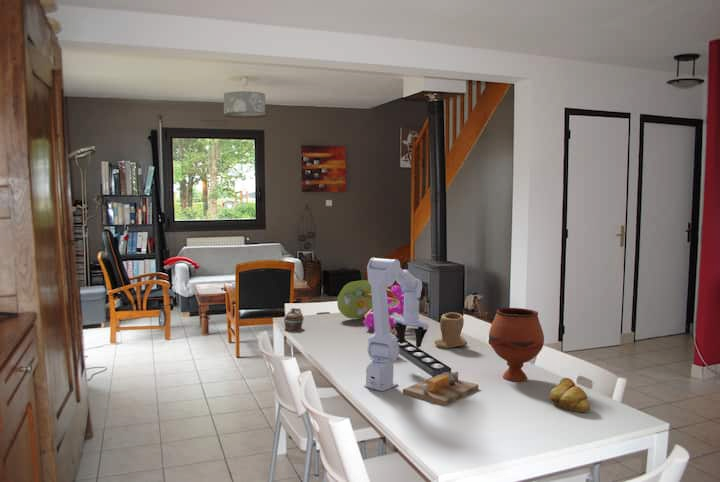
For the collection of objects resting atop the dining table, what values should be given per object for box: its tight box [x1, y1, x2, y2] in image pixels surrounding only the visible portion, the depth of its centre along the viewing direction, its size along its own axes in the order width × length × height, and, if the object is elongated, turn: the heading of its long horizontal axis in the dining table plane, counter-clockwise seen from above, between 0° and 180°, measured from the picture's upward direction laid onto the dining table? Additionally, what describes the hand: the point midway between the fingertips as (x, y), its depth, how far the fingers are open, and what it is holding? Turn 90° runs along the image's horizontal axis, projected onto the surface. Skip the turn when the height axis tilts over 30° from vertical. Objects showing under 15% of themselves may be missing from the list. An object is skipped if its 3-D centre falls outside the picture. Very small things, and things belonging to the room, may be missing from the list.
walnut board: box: [402, 370, 479, 407], centre depth 188 cm, size 22×16×4 cm
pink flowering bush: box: [336, 279, 404, 331], centre depth 288 cm, size 30×28×35 cm
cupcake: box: [283, 307, 305, 332], centre depth 275 cm, size 10×10×10 cm
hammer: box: [426, 371, 455, 393], centre depth 188 cm, size 13×4×4 cm, turn 140°
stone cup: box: [433, 312, 468, 349], centre depth 248 cm, size 15×12×15 cm
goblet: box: [488, 307, 545, 383], centre depth 203 cm, size 19×19×25 cm
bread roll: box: [549, 377, 591, 413], centre depth 176 cm, size 13×10×8 cm
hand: (410, 345), depth 211 cm, fingers open, 7 cm apart
